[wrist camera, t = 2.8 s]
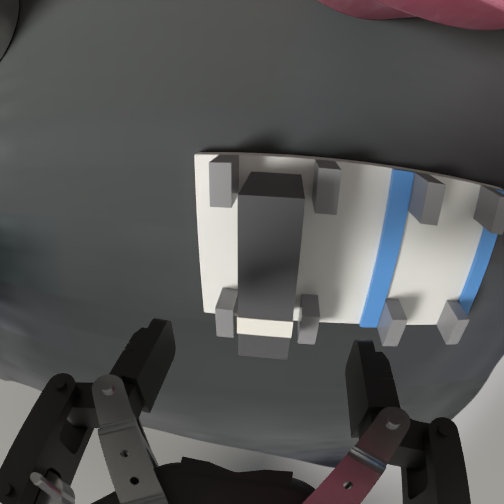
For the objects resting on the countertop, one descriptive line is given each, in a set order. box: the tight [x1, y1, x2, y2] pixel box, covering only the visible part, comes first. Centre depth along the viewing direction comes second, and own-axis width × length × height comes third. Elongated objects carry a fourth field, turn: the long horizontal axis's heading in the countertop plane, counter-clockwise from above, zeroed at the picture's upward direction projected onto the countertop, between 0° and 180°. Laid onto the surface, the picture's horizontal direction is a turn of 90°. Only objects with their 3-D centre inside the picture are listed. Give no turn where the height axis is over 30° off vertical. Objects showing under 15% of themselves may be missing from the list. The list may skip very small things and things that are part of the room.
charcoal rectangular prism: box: [237, 172, 305, 359], centre depth 18 cm, size 10×3×5 cm, turn 179°
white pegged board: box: [195, 152, 504, 346], centre depth 19 cm, size 12×22×4 cm, turn 89°
